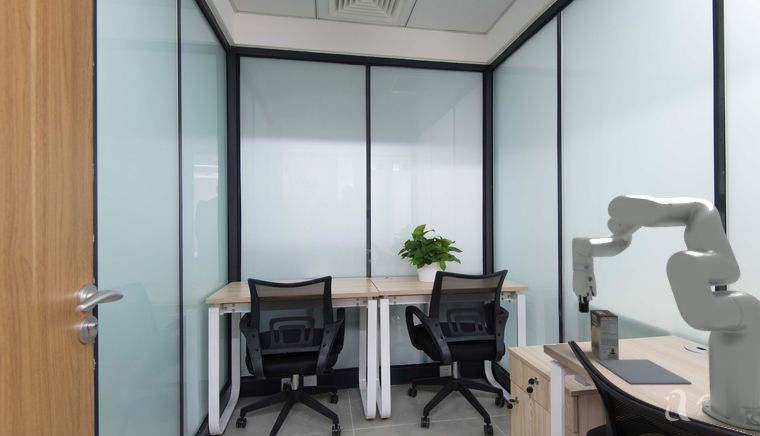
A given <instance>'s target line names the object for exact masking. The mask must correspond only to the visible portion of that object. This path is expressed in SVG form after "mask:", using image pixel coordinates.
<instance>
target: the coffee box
mask: <svg viewBox="0 0 760 436" xmlns="http://www.w3.org/2000/svg"><path fill="white" fill-rule="evenodd" d="M589 315H590V319H589V320H590V343H591V344H590V347H591V352H592V353H593V354H594V355H595V356H596V357H597V358H598V360H620V354H619V353H620V351H619V349H620V347H619V344H620V342H619V316H618V315H616V314H615V313H614V312H612V311H610V310H608V309H589Z"/></svg>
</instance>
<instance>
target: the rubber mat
mask: <svg viewBox="0 0 760 436" xmlns="http://www.w3.org/2000/svg"><path fill="white" fill-rule="evenodd" d="M595 361H596V362H597V363H598V364H600V365H601V366H603V368H606V369H607V370H609V371H610V372H612V373H613V374H614V375H616V376H618V377H619V378H621V379H622V380H624V381H625V382H627V383H628V384H629V385H692V382H691V381H689V380H688V379H686V378H683V377H682V376H680V375H678V374H677V373H674V372H672V371H671V370H668V369H667V368H665V367H663V366H662V365H659V364H657V363H656V362H653V361H651V360H649V359H619V360H601V359H596V360H595Z"/></svg>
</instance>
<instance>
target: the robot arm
mask: <svg viewBox="0 0 760 436" xmlns="http://www.w3.org/2000/svg"><path fill="white" fill-rule="evenodd" d="M607 213H608V216H609V217H610V218H609V219H608V220H607V223H606V224H607V225H606V226H607V228H608V230H609V231H610V232H611V234H612V235H611V236H609V237H605V236H604V237H603V236H602V237H582V236H581V237H577V236H576V237H573V238H572V240H571V258H572V259H571V260H572V262H571V263H572V292H573V293H574V294H575V296H577V301H578V302H577V303H578V312H579V313H582V314H588V313H589V314H590V305H589V304H590V301H593V299H594V298H593V297H595V298H596V297H597V295H598V294H597V281H596V275H595V272H594V269H595V267H594V264H595V263H594V258H608V257H615V256H618V255H620V254H621V253H623V252H624V251H625V250H626V249H628V248H629V247H630V245H631V244H632V241H633V234H634V233H636V232H637V231H638V230H640V229H641V228H642V227H645V228H670V227H671V228H672V227H673V228H674V227H676V228H677V227H685V228H684V231H683V240H684V244H685V245H686V249H687V250H686V249H685V250H681V251H676V252H673V254H672V255H670V256H669V258H668V260H667V262H666V266H665V267H666V268H665V272H666V275H667V280H668V283H669V285H670V289H671V292H672V294H673V298H674V301H675V304H676V306H677V309H678V312H679V315H680V316H681V318H682V319H683V321H684V322H685V324H687V325H688V326H689V327H691V328H693V329H694V330H697V331H701V332H710V333H709V337H708V340H707V341H708V343H707V344H708V345H707V346H708V347H707V348H708V349H707V351H708V352H707V353H708V377H709V399H708V400H704V401H703V402H702V403H701V405H702V410H703V411H704V412H705V413H706V414H707V415H709V416H711V417H712V418H714V419H716V420H718V421H720V422H722V423H725V424H727V425H729V426H730V425H731V426H734V427H737V428H740V429H746V430H751V431H760V300H759V299H758V298H757V297H755V296H754V295H753V294H750V293H748V292H745V291H740V290H716V291H715V290H712V289H713V288H712V287H719V286H720V287H721V286H727V285H728V286H729V285H731V284H732V285H733V284H734V283H736V282H738V280H739V279H740V278H741V268H740V266H739V263H738V261H737V258H736V256H735V253H734V252H733V251H734V250H733V249H732V245H731V244H730V241H729V238H728V237H727V235H726V232H725V229H724V226H723V221H722V218H721V215H720V213H719V210H718V209H717V207H716V206H715V205H714V204H713V203H712V202H711V201H709V200H706V199H703V198H695V197H666V198H664V197H663V198H660V197H659V198H655V197H653V196H650V195H645V194H625V195H623V194H621V195H618V196H615V197H613V198H612V200H611V201H610V202H609V203H608V207H607Z"/></svg>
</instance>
